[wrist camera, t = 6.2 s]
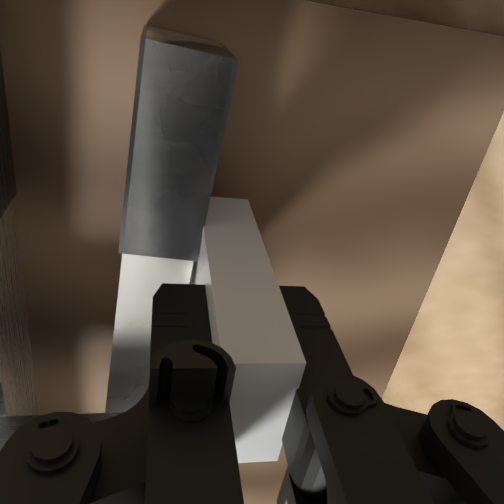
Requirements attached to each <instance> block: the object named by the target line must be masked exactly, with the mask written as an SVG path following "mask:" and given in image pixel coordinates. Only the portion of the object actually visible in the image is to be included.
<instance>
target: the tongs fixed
mask: <svg viewBox="0 0 504 504" xmlns="http://www.w3.org/2000/svg"><path fill="white" fill-rule="evenodd" d="M16 194H17V189H16V180H15V171H14V162H13V153H12V145H11V136H10V127H9V118H8V109H7V100H6V91H5V83H4V74H3V65H2V56H1V47H0V417H1V416H29V415H39V409H38V400H37V392H36V383H35V375H34V366H33V358H32V349H31V341H30V332H29V324H28V315H27V307H26V298H25V290H24V281H23V273H22V264H21V255H20V247H19V238H18V230H17V221H16V213H15V204H14V197H15V195H16Z"/></svg>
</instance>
